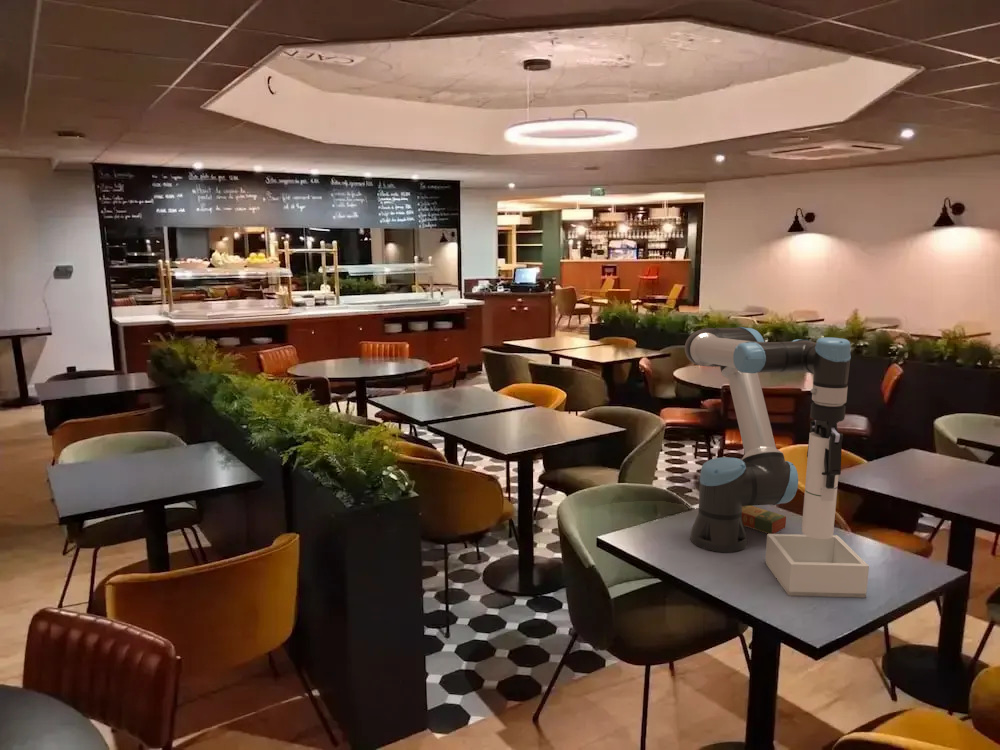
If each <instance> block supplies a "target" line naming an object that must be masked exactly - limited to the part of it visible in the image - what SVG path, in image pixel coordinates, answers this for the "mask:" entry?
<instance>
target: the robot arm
mask: <svg viewBox="0 0 1000 750" xmlns="http://www.w3.org/2000/svg"><path fill="white" fill-rule="evenodd" d="M851 344H852V343H851V341H850V340H848V339H847V338H841V337H828V336H827V337H819V338H818V339H817V340H816V342H814V341H812V340H809V339H801V338H800V339H799V338H798V339H794V340H791V341H769V342H768V341H765V339H764V337H763V336H762V334H761V333H760V332H759V331H758V330H757V329H754V328H751V327H743V326H740V327H739V326H738V327H718V328H716V327H713V328H712V327H706V328H702V329H701V328H700V329H699V330H696V331H694V332H692V333H691V334H690V335H689V336H688V338H686V341H685V345H684V352H685V356H686V358H687V359H688V360H689V361H690V362H691V363H692V364H694V365H697V366H700V367H708V368H709V367H717V368H718V367H719V368H720V373H721V375H722V376H723V377H724V378H726V379H727V381H728V384H729V389H730V393H731V398H732V402H733V407H734V411H735V416H736V420H737V421H736V422H737V424H738V429H739V433H740V438H741V443H742V447H743V451H744V455H743V457H742V458H741V459H740V458H737V457H727V456H724V457H716V458H712V459H709V460H707V461H705V462H704V463H703V464H702V465H701V468H700V474H699V475H700V476H699V478H698V479H699V488H698V489H699V493H698V511H697V512H698V513H697V515H696V517H695V520H694V522H693V525H692V527H691V530H690V541H691V542H692V543H693V544H694V545H695V546H697V547H699V548H701V549H703V550H704V549H705V550H707V551H713V552H718V553H736V552H739V551H743V550H745V548H746V547H747V542H748V541H747V540H748V537H747V533H746V529H745V526H744V525H743V521H742V507H743V506H766V505H767V506H769V505H771V506H777V505H779V504H787V503H790V502H791V501H792V500H793V499H794V498H795V496H796V493H797V491H798V488H799V474H798V470H797V468H796V466H795V465H794V463H793V462H791V461H789V460H786V459H785V456H784V452H782V451H781V450H779V449H778V448H777V447H776V443H775V439H774V435H773V429H772V425H771V421H770V417H769V414H768V409H767V405H766V401H765V397H764V393H763V389H762V384H761V381H760V377H759V373H760V374H761V373H776V372H777V373H790V372H791V373H795V372H798V373H799V372H803V373H804V372H805V373H809V374H813V379H812V389H810V393H811V400H812V401H813V402H811V403H810V414H809V415H810V418H812V419H811V420H810V422H809V423H810V424H809V425H810V427H809V430H810V432H809V434H810V433H811V432H814V433H816V434H820V437H822V438H828V439H830V440H829V450H828V449H826V448H825V457H824V468H825V472H822V475H823V476H822V488H821V500H822V501H833V498H834V487H835V476H836V475H839V476H840V475H841V473H842V449H843V448H842V447H843V446H842V445H843V444H842V443H843V439H844V434H843V433H839V430H838V423H839V422H843V421H844V420H845V418H846V417H845V416H846V405H845V404H846V403H847V400H848V399H847V398H848V384H849V383H848V382H849V373H850V364H851V358H852V356H851ZM808 447H809V443H808V445H807V448H808ZM806 458H807V459H808V450H807V452H806Z"/></svg>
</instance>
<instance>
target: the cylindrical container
mask: <svg viewBox="0 0 1000 750" xmlns="http://www.w3.org/2000/svg"><path fill="white" fill-rule="evenodd" d="M808 436H809V439H808V444H809V447H808V446H807V451H808V458H807V460H806V461H807V462H806V471H805V472H806V473H805V474H806V475H805V485H804V497H803V508H802V520H801V521H802V523H801V534H802V535H806V536H809V537H812V538H817V539H829V538H832V537H833V535H834V530H835V528H834V527H835V520H836V517H835V516H836V507H837V496H838V484H839V477H840V475H836V476H835V487H834V498H833V501H822V500H821V488H822V476H823V475H822V472H825V468H824V457H825V448H826V449H828V450H829V440H830V439H828V438H822V437H820V434H816V433H814V432H811V433H810V432H809V435H808Z"/></svg>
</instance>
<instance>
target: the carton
mask: <svg viewBox="0 0 1000 750" xmlns="http://www.w3.org/2000/svg"><path fill="white" fill-rule="evenodd" d="M742 521H743V525H744V527H746V526H747V528H749V527H750V529H752V528H754V529H753V530H755V529H756V531H758V530H759V532H761V531H762V533H764V532H765V534H767V533H768V534H777V533H778V532H780V531H782V530H784V529H786V526H787V525H786V524H787V516H786V515H785V514H784V515H783V514H781V513H776V512H774V511H769V510H767V509H763V508H760V507H757V506H756V505H753V506H743V507H742ZM783 528H784V529H783ZM781 529H782V530H781ZM779 530H780V531H779Z"/></svg>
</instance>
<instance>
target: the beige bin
mask: <svg viewBox="0 0 1000 750" xmlns="http://www.w3.org/2000/svg"><path fill="white" fill-rule="evenodd" d="M766 534H767V533H766ZM765 547H766V548H765V559H764V561H765V562H764V563H765V565H766V566H767V567H768V569H769V570H770V571H771V573H772V575H773V576H774V577H775V579H776V578H777V579H776V581H778V583H779V584H780V586H781V587H782V588H783V591H785V593H786V594H787V595H788V597H789V596H790V597H791V596H792V597H794V596H795V597H824V598H825V597H828V598H829V597H831V598H865V599H866V598H867V589H868V581H869V580H868V578H869V571H870V570H869V569H870V565H869V564H868V563H866V562H865V561H864V559H863V558H861V556H859V555H858V554H857V552H856V551H854V549H852V548H851V547H850V546H849V545H848V544H847V543H846V542H845V541H844V540H843V539H842V538H841V537H840V536H839V535H836V534H833V537H832V538H829V539H817V538H812V537H809V536H806V535H804V534H799V533H798V534H792V533H790V534H788V533H774V534H767V535H766V546H765Z"/></svg>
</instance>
